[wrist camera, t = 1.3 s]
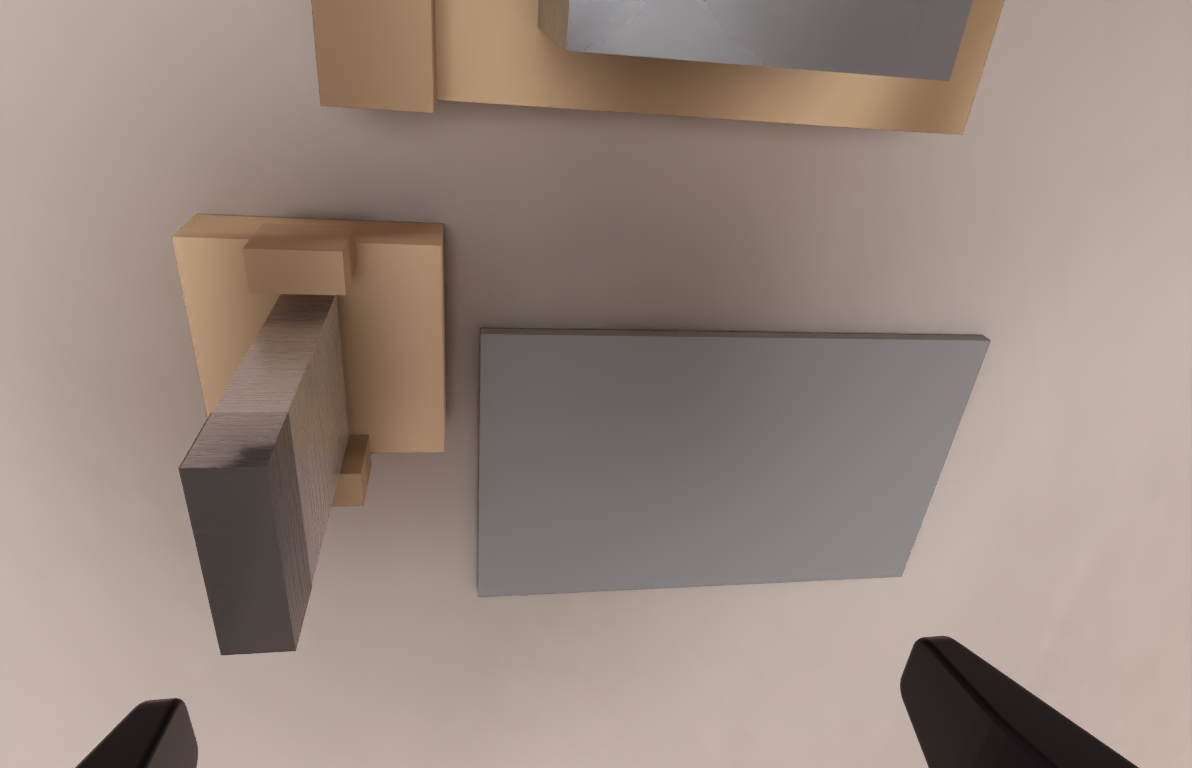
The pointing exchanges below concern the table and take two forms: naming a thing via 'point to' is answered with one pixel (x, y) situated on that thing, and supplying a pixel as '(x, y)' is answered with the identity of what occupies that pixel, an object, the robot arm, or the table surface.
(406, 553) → the table surface
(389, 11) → the body
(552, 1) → the grey knobbed drawer
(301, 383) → the lever
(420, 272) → the lever mount
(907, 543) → the felt pad
